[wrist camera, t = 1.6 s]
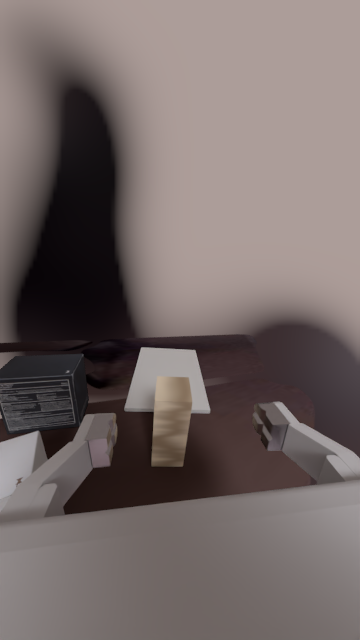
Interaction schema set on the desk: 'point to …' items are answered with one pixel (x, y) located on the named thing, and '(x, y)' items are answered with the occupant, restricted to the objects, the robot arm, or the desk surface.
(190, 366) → the rubber mat
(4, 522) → the robot arm
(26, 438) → the small box
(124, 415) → the desk surface
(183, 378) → the maple block
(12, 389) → the small box
